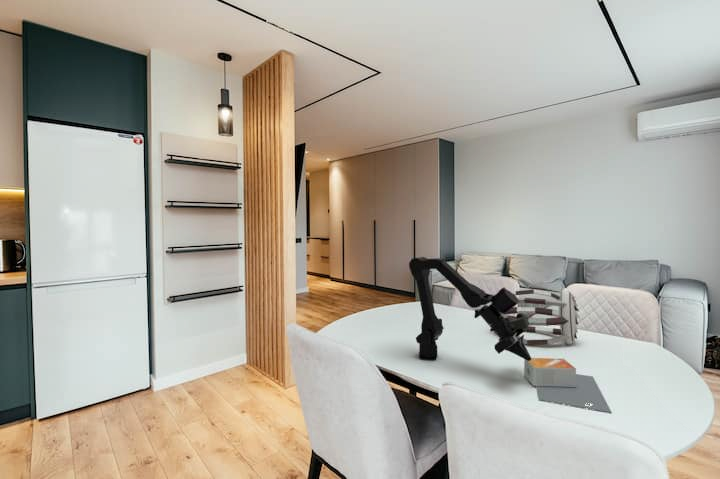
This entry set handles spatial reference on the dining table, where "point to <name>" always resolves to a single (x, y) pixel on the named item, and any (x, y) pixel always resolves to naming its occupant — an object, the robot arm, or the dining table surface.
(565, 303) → the decorative basket
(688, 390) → the dining table surface
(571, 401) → the mouse pad
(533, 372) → the small box
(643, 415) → the dining table surface
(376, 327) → the dining table surface
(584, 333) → the dining table surface
